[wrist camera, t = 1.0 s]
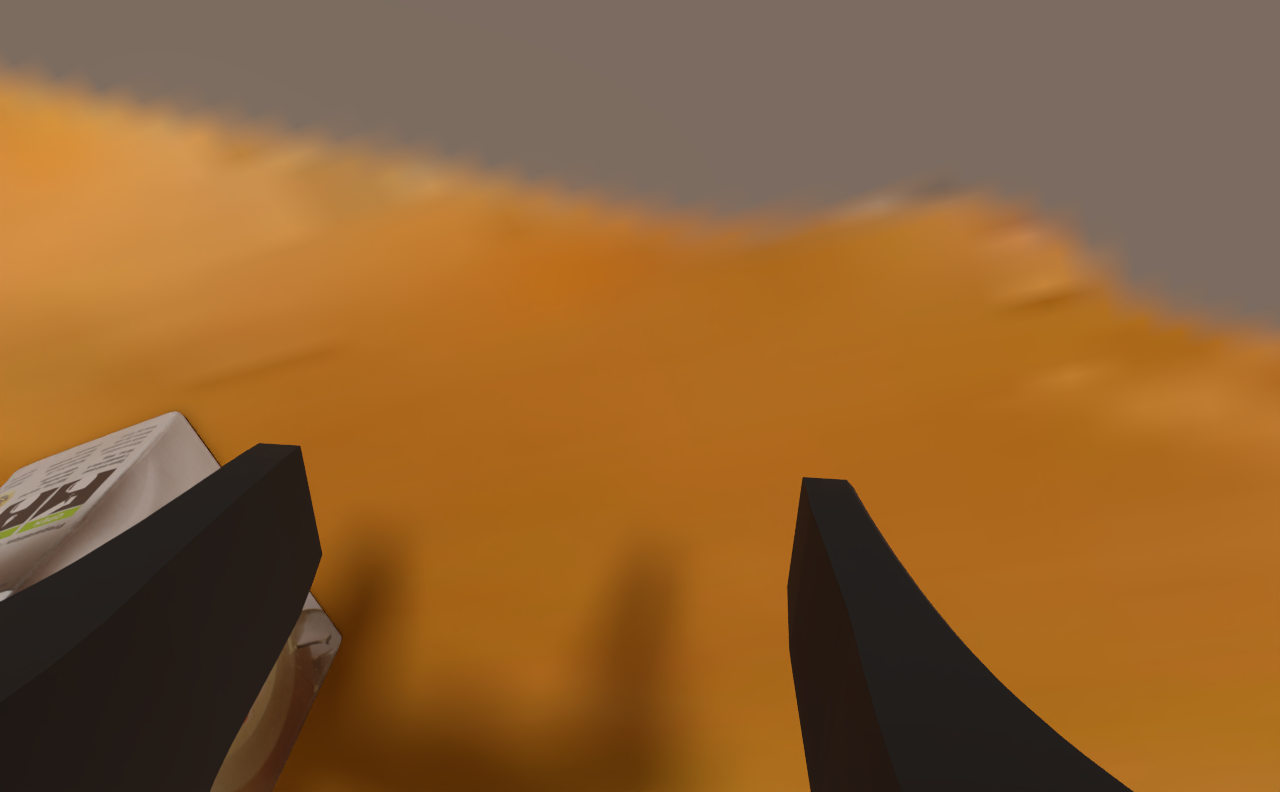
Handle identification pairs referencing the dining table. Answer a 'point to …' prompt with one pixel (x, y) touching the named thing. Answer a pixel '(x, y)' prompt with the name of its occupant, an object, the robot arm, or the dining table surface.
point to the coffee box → (117, 500)
